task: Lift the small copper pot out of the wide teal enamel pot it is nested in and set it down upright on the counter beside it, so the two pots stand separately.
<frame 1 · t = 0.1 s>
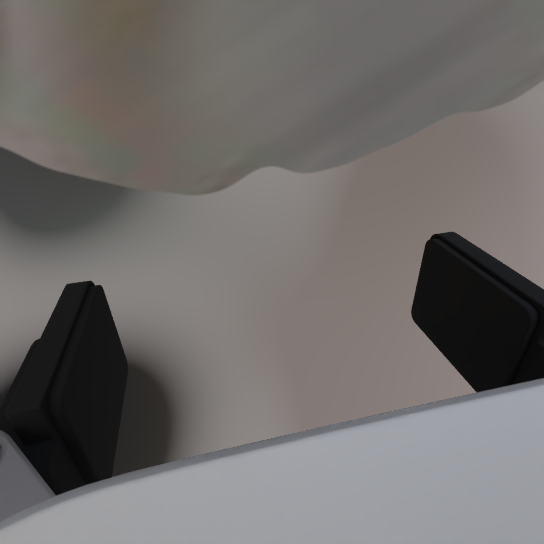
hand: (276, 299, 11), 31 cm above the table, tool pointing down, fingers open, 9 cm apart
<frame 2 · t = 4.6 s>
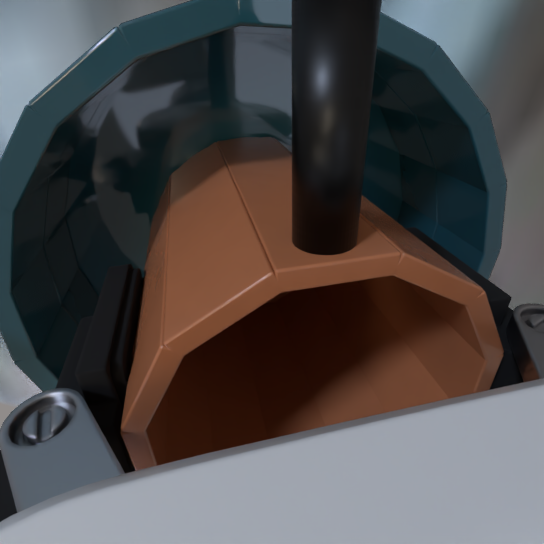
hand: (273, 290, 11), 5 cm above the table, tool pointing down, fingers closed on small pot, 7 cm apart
large pot: (247, 225, 15), on the table
small pot: (249, 231, 14), point 1 cm above the table, touching gripper, large pot
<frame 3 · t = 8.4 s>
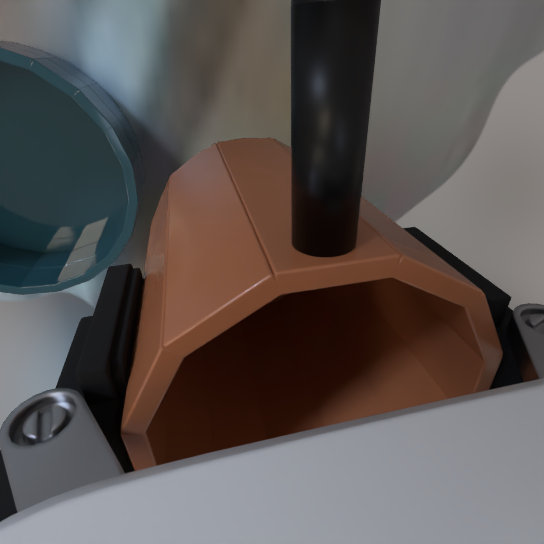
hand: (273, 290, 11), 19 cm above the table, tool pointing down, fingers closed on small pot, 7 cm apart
large pot: (34, 163, 25), on the table
small pot: (249, 232, 14), point 15 cm above the table, touching gripper
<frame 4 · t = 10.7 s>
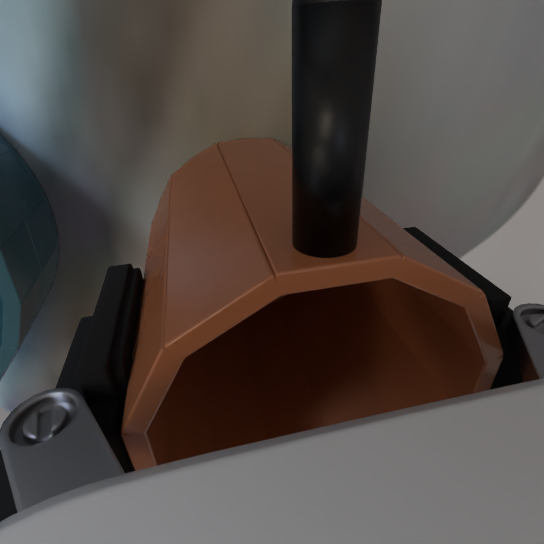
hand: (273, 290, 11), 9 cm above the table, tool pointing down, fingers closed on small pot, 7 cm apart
small pot: (249, 232, 14), point 5 cm above the table, touching gripper
when the fingers open (4 cm above the table, at t = 12.5 s): small pot stays where it is, on the table.
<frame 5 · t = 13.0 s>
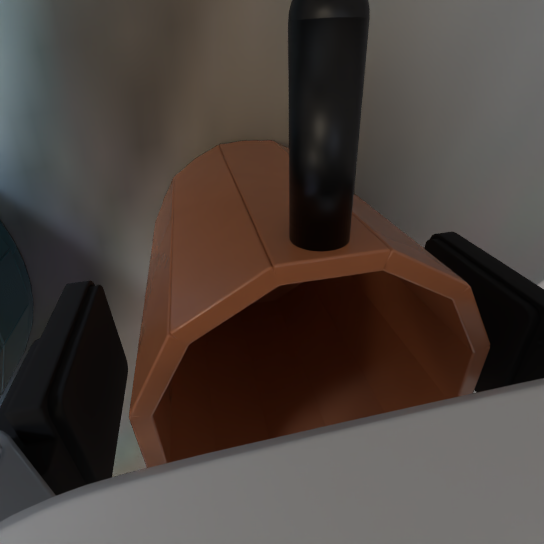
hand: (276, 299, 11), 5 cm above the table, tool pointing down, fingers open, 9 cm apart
small pot: (250, 231, 15), on the table
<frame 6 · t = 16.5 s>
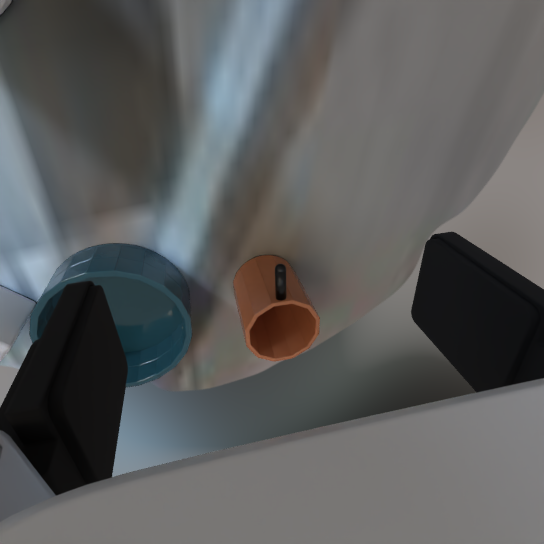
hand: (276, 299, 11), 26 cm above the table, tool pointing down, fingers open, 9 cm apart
large pot: (122, 302, 39), on the table
small pot: (264, 282, 42), on the table
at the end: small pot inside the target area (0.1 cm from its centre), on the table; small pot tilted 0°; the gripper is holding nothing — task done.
